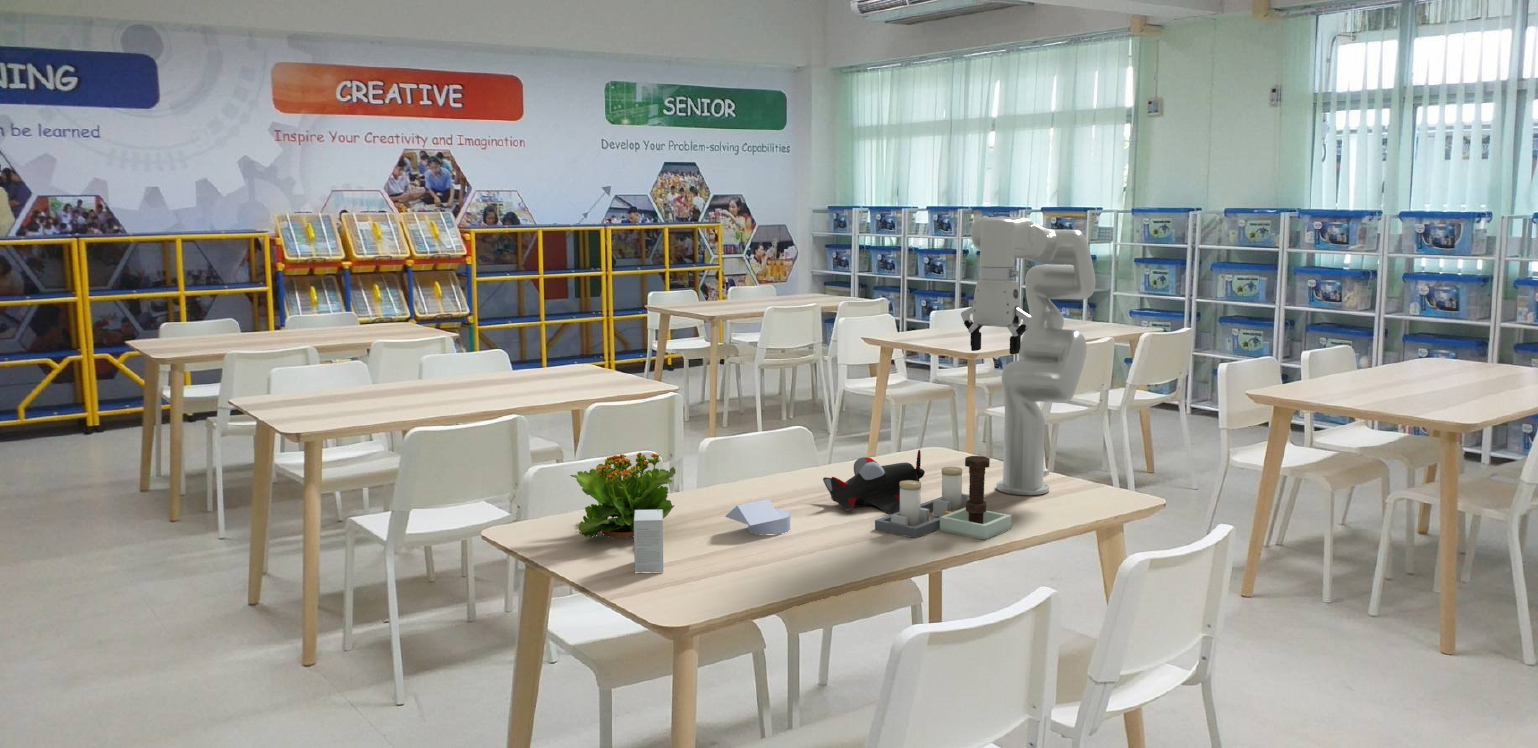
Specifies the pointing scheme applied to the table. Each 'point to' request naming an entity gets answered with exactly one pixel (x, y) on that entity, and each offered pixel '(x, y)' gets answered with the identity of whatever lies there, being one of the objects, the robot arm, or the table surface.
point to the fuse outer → (910, 501)
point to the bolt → (976, 487)
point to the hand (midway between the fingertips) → (995, 352)
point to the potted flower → (622, 494)
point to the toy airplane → (873, 484)
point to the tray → (975, 524)
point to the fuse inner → (952, 487)
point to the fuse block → (899, 523)
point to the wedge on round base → (761, 517)
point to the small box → (648, 540)
